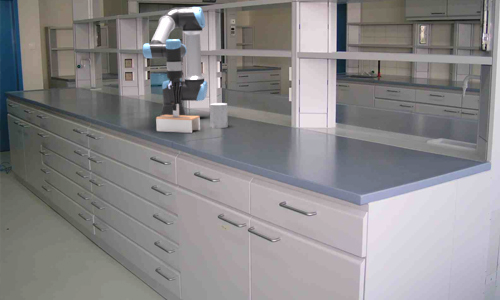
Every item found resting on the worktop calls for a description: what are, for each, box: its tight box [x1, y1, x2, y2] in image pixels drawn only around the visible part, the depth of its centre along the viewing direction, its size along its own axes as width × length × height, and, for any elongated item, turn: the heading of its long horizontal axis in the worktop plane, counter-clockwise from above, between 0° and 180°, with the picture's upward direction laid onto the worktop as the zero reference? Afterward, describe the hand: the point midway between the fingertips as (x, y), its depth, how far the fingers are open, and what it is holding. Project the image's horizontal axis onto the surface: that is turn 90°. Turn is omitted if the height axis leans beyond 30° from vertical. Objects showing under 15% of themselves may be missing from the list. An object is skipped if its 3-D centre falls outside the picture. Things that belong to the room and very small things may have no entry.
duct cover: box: [155, 114, 201, 120], centre depth 284 cm, size 10×20×1 cm, turn 69°
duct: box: [155, 118, 201, 134], centre depth 285 cm, size 10×20×6 cm, turn 69°
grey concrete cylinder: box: [209, 102, 229, 129], centre depth 295 cm, size 10×10×12 cm
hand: (176, 116), depth 282 cm, fingers closed
